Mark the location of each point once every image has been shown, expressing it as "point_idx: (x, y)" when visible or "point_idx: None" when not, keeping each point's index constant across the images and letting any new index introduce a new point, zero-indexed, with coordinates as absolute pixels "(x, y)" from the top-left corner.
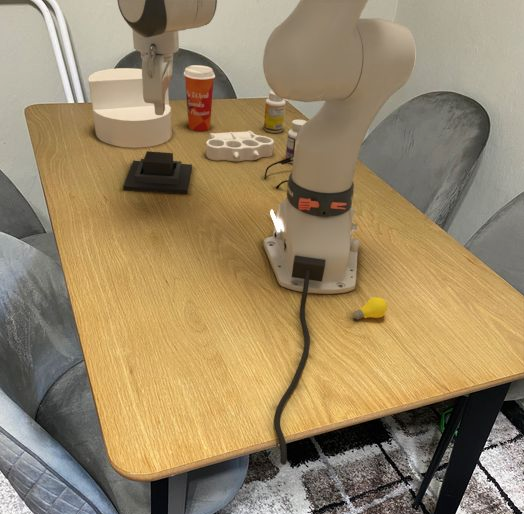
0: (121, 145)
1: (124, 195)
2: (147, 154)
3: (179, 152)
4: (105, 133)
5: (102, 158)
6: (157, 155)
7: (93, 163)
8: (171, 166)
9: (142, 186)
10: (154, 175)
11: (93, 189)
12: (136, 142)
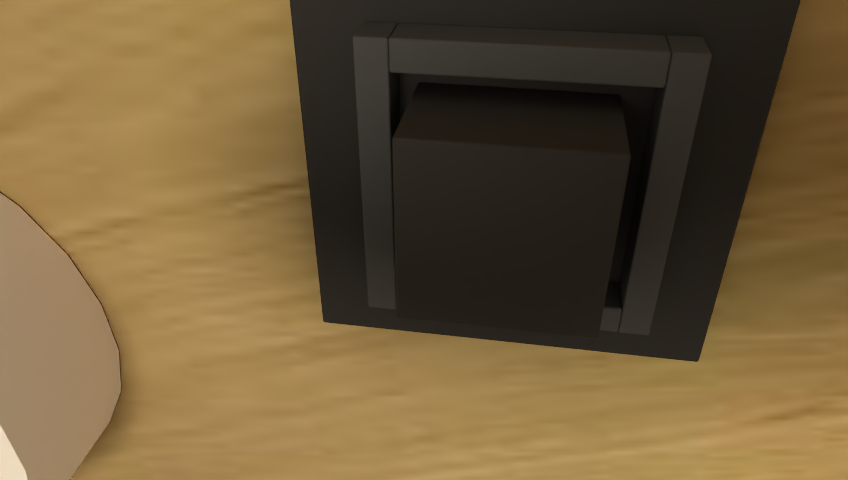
0: (115, 369)
1: (766, 337)
2: (460, 313)
3: (43, 45)
4: (81, 462)
5: (294, 433)
6: (466, 250)
7: (364, 463)
8: (538, 121)
9: (715, 267)
10: (645, 223)
11: (674, 460)
12: (79, 317)
